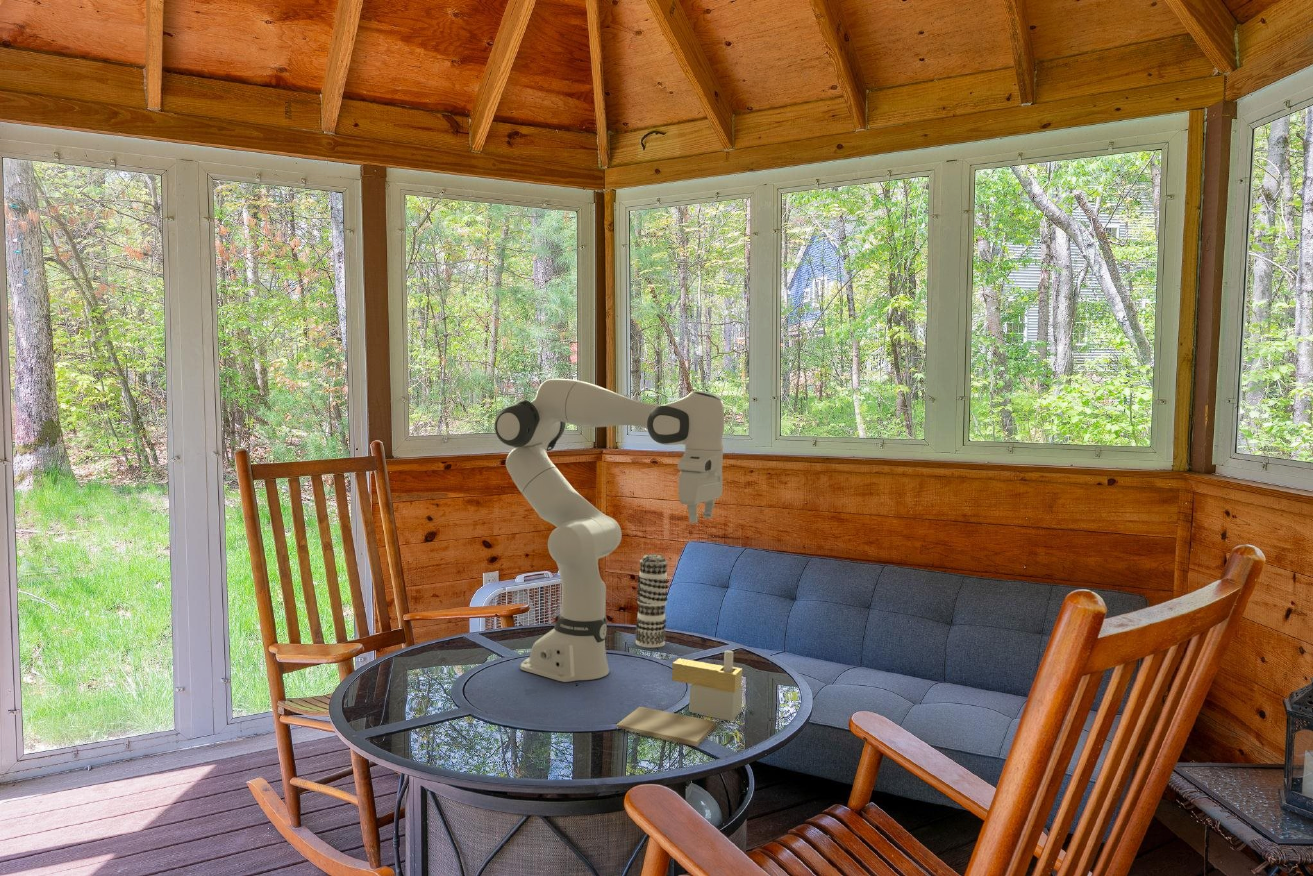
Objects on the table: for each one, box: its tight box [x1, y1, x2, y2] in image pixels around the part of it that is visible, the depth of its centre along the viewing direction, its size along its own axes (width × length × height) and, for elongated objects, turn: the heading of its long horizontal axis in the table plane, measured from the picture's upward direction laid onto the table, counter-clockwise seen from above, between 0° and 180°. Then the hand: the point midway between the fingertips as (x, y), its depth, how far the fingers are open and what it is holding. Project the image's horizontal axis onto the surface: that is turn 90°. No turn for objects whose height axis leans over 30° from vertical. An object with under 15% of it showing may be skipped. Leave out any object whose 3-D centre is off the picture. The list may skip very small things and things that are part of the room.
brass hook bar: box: [671, 658, 743, 693], centre depth 191 cm, size 15×5×4 cm, turn 67°
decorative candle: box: [635, 554, 670, 648], centre depth 241 cm, size 9×9×25 cm
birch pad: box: [615, 706, 717, 747], centre depth 180 cm, size 18×12×1 cm, turn 67°
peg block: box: [688, 650, 744, 722], centre depth 190 cm, size 10×7×14 cm
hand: (700, 520), depth 198 cm, fingers open, 8 cm apart
